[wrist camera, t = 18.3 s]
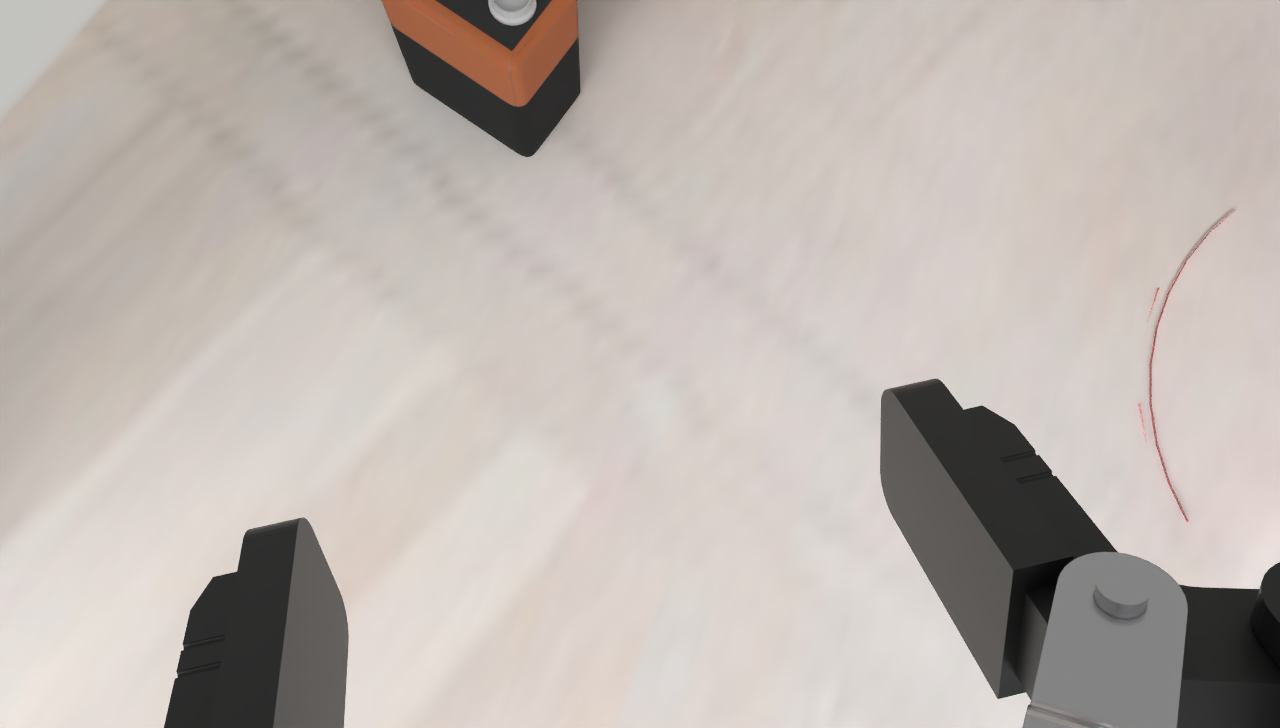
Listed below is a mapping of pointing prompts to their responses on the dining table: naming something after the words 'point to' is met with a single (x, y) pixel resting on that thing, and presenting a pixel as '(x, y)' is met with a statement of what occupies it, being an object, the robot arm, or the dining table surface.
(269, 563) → the robot arm
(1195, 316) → the dining table surface
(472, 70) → the battery
